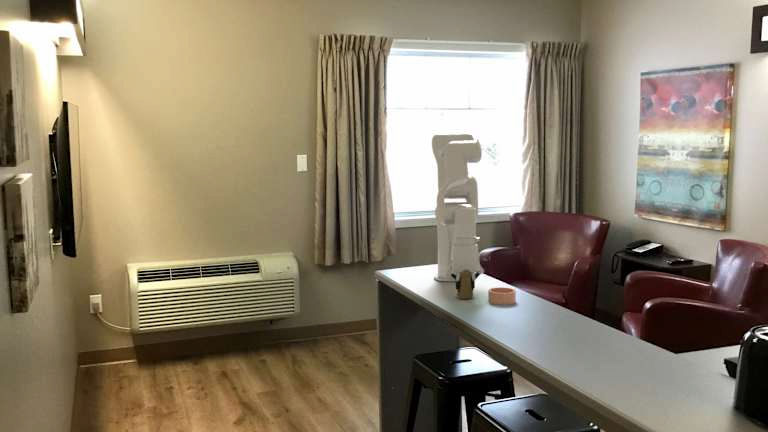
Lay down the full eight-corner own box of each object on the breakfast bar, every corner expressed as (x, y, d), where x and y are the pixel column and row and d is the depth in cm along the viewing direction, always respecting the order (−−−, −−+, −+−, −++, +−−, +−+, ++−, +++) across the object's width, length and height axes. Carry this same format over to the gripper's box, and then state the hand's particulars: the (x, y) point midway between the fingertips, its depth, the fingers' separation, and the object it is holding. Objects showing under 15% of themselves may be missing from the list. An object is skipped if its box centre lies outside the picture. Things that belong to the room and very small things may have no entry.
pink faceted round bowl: (486, 298, 250) (486, 287, 249) (511, 297, 251) (511, 287, 250) (492, 305, 241) (492, 293, 240) (518, 304, 241) (518, 292, 241)
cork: (473, 294, 254) (473, 265, 252) (473, 298, 248) (473, 269, 246) (456, 294, 255) (456, 265, 253) (456, 298, 249) (456, 268, 247)
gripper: (485, 239, 253) (485, 287, 255) (440, 240, 251) (440, 289, 254) (490, 242, 245) (490, 292, 248) (443, 244, 244) (444, 294, 247)
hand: (465, 290), depth 251 cm, fingers closed on cork, 4 cm apart
